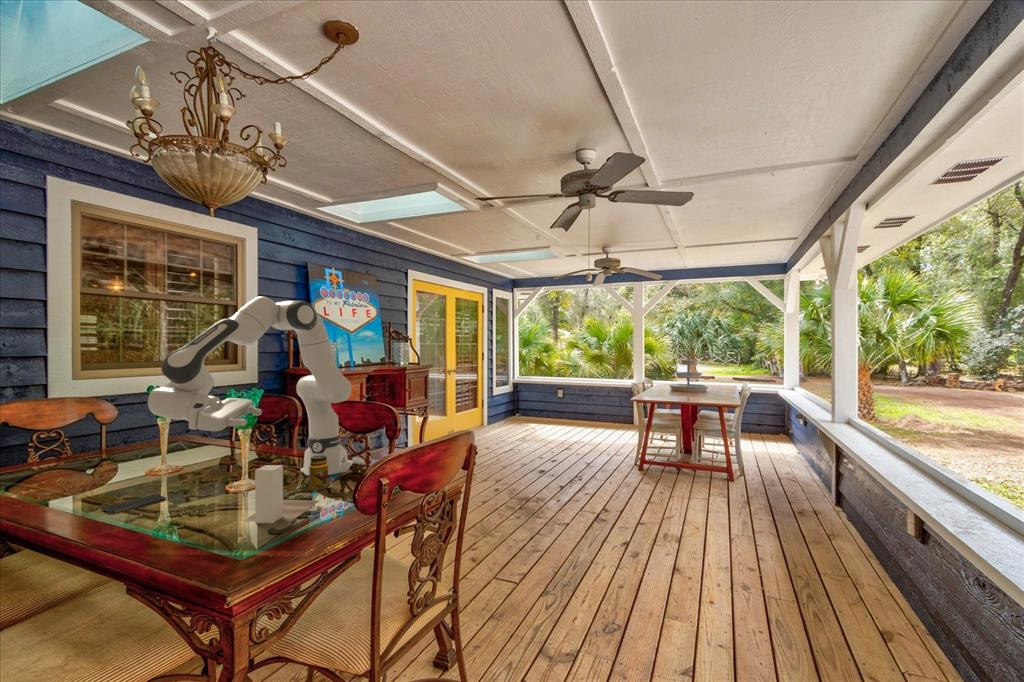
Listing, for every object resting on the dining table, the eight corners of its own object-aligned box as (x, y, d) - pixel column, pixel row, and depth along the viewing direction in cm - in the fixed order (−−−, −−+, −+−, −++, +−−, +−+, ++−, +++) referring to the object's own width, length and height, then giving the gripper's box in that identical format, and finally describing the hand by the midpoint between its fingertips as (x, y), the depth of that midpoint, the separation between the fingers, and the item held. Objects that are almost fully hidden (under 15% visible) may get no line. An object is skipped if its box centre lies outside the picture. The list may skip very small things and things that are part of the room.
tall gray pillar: (265, 516, 138) (265, 465, 138) (282, 516, 138) (282, 465, 138) (255, 522, 133) (255, 470, 133) (273, 523, 132) (273, 470, 133)
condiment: (326, 493, 162) (326, 458, 162) (300, 494, 161) (300, 459, 161) (331, 487, 169) (331, 453, 169) (306, 488, 168) (306, 454, 168)
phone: (167, 497, 155) (111, 511, 142) (167, 501, 155) (111, 515, 142) (155, 494, 159) (100, 507, 146) (155, 497, 159) (100, 510, 146)
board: (276, 503, 152) (276, 500, 152) (319, 503, 152) (319, 500, 152) (242, 524, 134) (242, 521, 134) (290, 525, 134) (290, 521, 134)
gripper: (224, 408, 154) (267, 416, 155) (185, 431, 134) (235, 439, 135) (226, 390, 153) (269, 398, 154) (187, 410, 133) (237, 419, 134)
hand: (253, 417), depth 144 cm, fingers open, 8 cm apart
